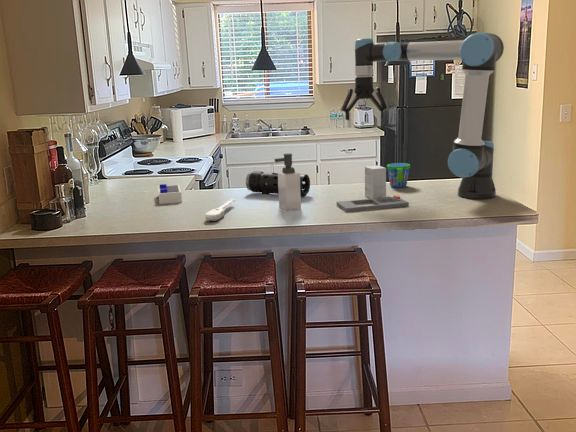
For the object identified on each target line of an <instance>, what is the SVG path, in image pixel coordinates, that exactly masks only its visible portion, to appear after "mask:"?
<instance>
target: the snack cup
mask: <svg viewBox="0 0 576 432" xmlns="http://www.w3.org/2000/svg"><path fill="white" fill-rule="evenodd" d="M410 169H411V164H410V163H407V162H406V163H405V162H393V163H391V162H390V163H388V164H387V165H386V170H387V174H388V181H389V186H390V187H391V188H405V187H407V184H408V179H409V173H410Z"/></svg>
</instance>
